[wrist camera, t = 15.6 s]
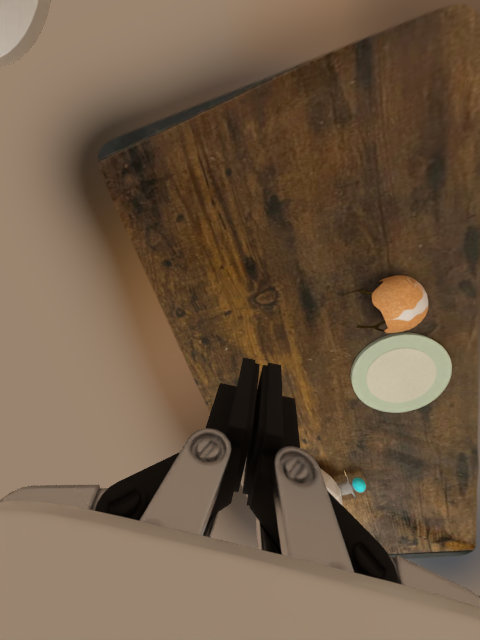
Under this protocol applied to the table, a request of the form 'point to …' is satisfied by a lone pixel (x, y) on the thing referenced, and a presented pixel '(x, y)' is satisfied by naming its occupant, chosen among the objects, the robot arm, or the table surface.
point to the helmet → (399, 303)
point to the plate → (400, 372)
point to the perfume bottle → (343, 486)
